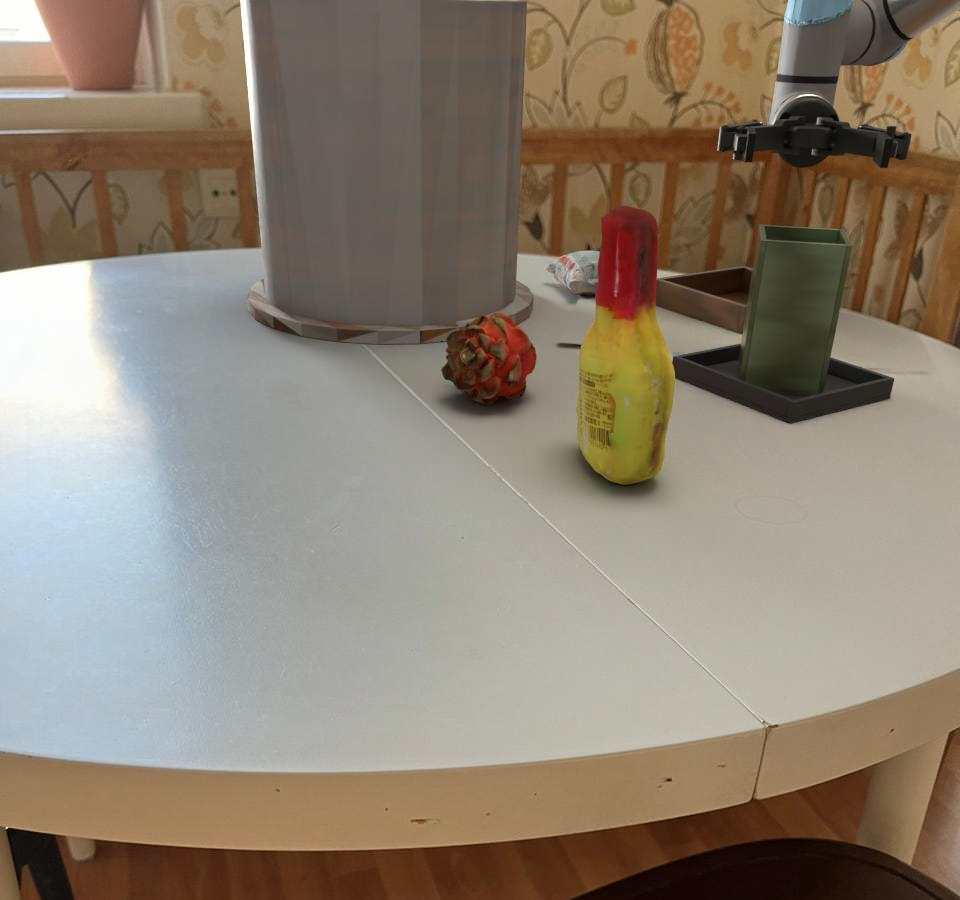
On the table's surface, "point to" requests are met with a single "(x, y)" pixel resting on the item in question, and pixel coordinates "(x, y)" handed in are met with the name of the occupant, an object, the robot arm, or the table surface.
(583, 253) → the packaged food
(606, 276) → the bottle
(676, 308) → the brown wooden tray
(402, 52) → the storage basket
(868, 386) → the tray
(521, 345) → the dragon fruit
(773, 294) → the tall basket
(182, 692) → the table surface
